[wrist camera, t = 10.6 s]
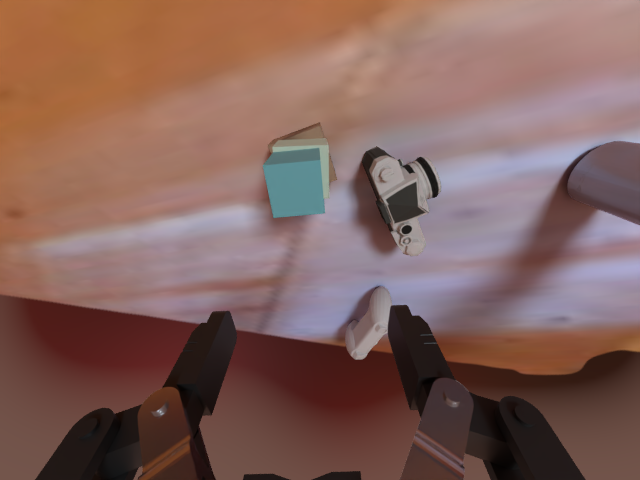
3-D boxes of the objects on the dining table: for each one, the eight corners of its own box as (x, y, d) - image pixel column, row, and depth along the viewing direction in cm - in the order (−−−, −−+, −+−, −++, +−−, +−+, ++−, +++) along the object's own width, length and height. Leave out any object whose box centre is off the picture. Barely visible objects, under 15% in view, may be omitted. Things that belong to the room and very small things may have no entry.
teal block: (319, 147, 26) (320, 160, 21) (323, 192, 29) (324, 213, 23) (273, 152, 26) (262, 165, 21) (281, 196, 29) (273, 217, 24)
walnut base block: (319, 122, 34) (320, 125, 30) (334, 170, 37) (337, 179, 33) (273, 139, 35) (267, 145, 31) (291, 184, 38) (289, 195, 34)
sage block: (326, 138, 30) (328, 144, 26) (327, 185, 33) (329, 198, 29) (278, 140, 30) (272, 146, 26) (283, 187, 33) (278, 200, 29)
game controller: (355, 329, 55) (363, 372, 46) (338, 323, 54) (342, 366, 45) (391, 284, 49) (407, 324, 40) (372, 277, 48) (384, 316, 39)
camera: (436, 218, 42) (468, 250, 33) (388, 238, 44) (407, 273, 35) (410, 127, 34) (442, 137, 26) (354, 156, 36) (366, 174, 28)
